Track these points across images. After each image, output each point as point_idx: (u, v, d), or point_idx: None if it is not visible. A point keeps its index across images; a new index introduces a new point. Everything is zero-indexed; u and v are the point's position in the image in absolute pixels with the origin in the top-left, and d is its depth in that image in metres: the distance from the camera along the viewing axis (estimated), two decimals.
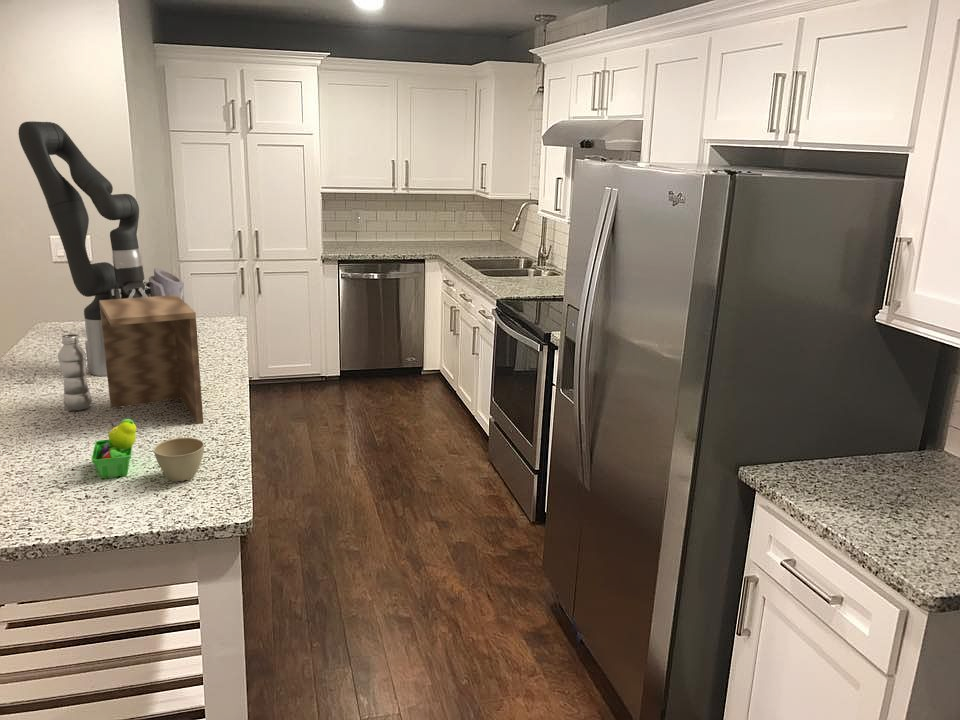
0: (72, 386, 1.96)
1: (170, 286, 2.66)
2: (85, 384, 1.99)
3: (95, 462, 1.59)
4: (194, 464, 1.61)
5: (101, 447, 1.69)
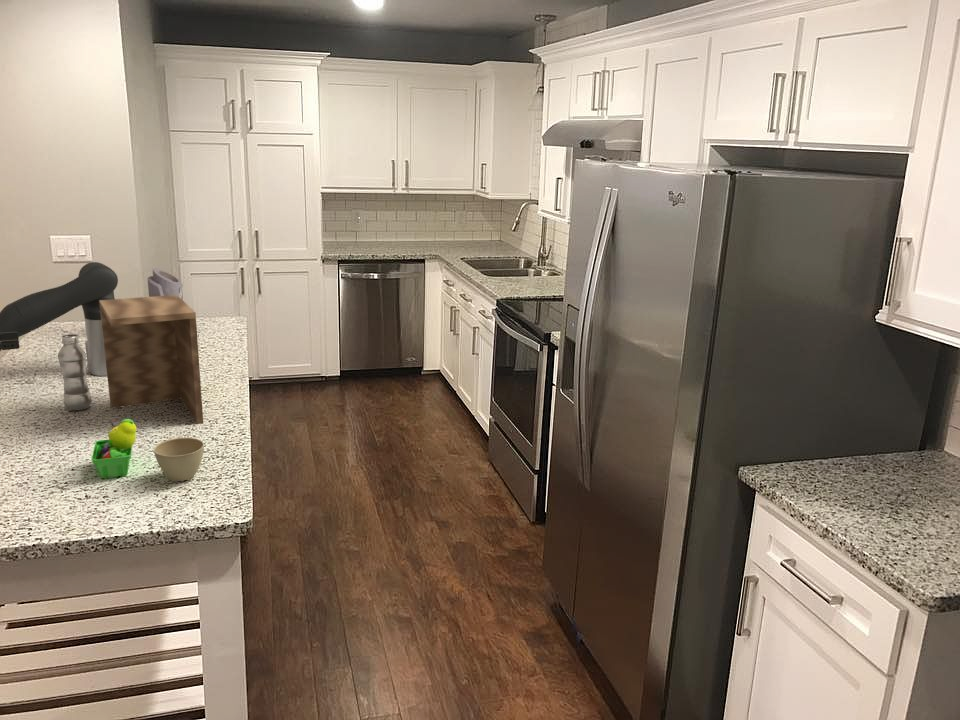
0: (72, 386, 1.96)
1: (169, 286, 2.66)
2: (85, 384, 1.99)
3: (95, 462, 1.59)
4: (194, 464, 1.61)
5: (101, 447, 1.69)
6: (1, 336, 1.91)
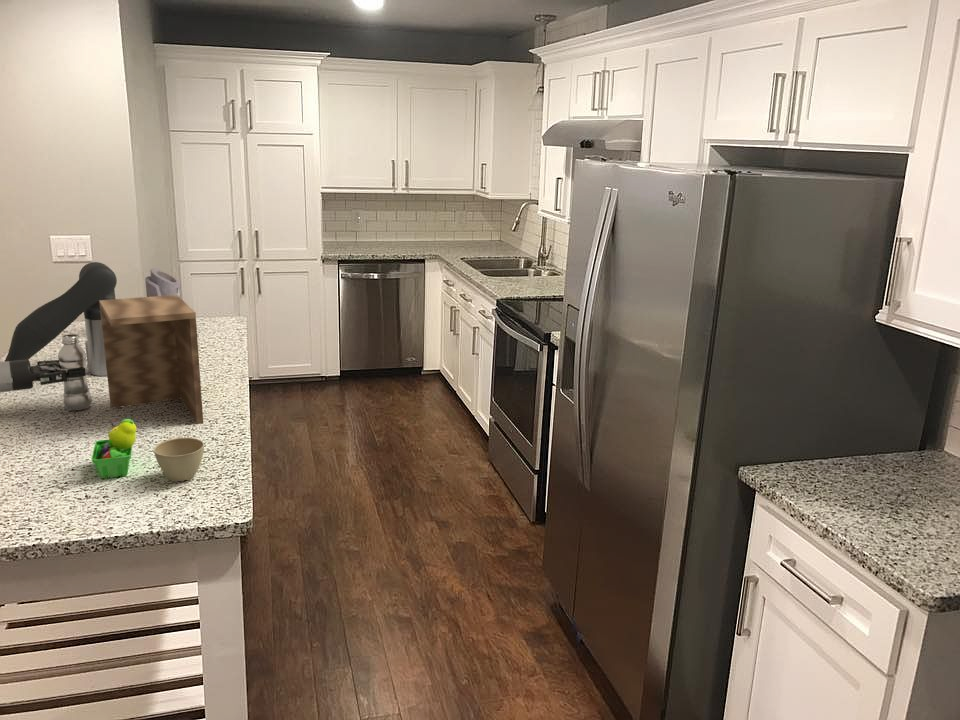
0: (72, 386, 1.96)
1: (166, 286, 2.65)
2: (85, 384, 1.98)
3: (95, 462, 1.59)
4: (194, 464, 1.61)
5: (101, 447, 1.69)
6: None
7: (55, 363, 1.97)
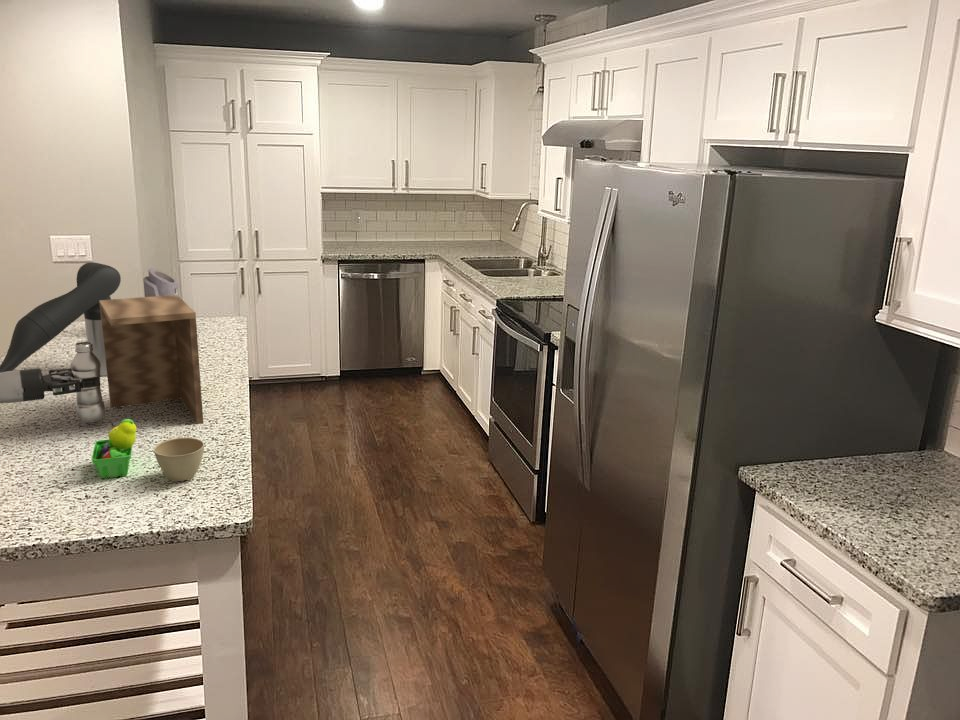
0: (85, 397, 1.86)
1: (164, 286, 2.65)
2: (99, 394, 1.88)
3: (95, 462, 1.59)
4: (194, 464, 1.61)
5: (101, 447, 1.69)
6: None
7: (68, 372, 1.86)
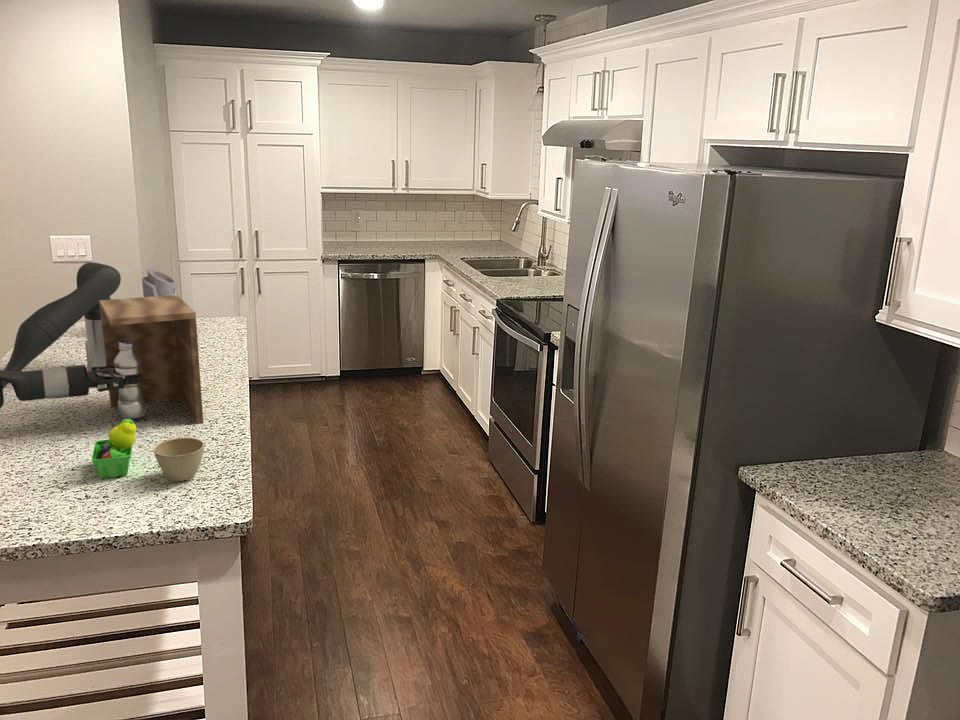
0: (128, 393, 1.90)
1: (163, 286, 2.65)
2: (140, 391, 1.92)
3: (95, 462, 1.59)
4: (194, 464, 1.61)
5: (101, 447, 1.69)
6: None
7: (110, 369, 1.91)
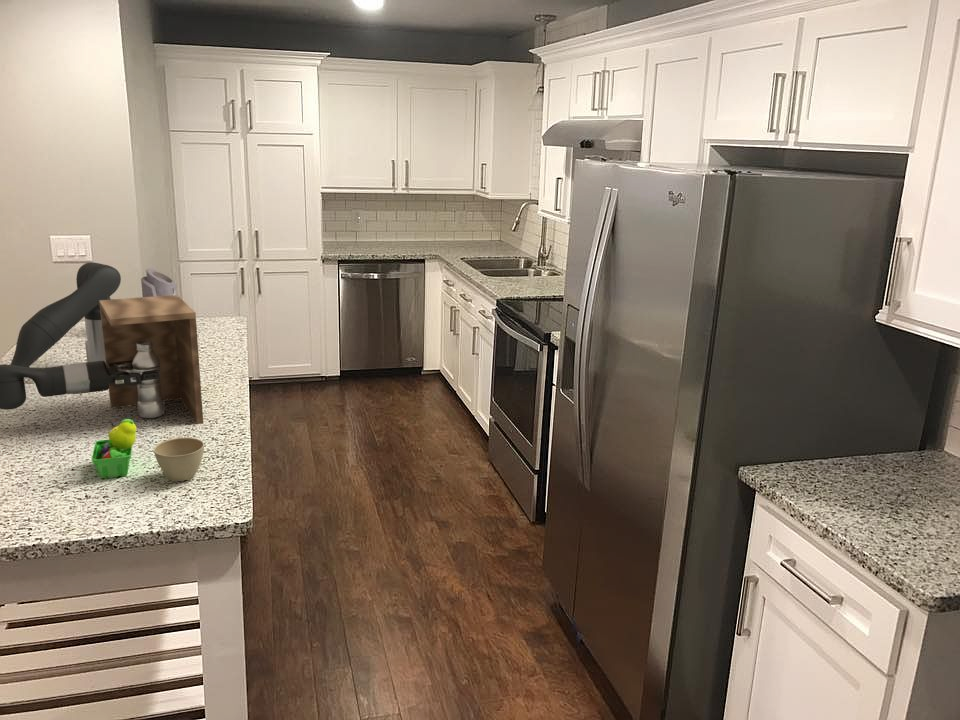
0: (147, 394, 1.93)
1: (162, 286, 2.65)
2: (159, 391, 1.95)
3: (95, 462, 1.59)
4: (194, 464, 1.61)
5: (101, 447, 1.69)
6: None
7: (128, 364, 1.94)
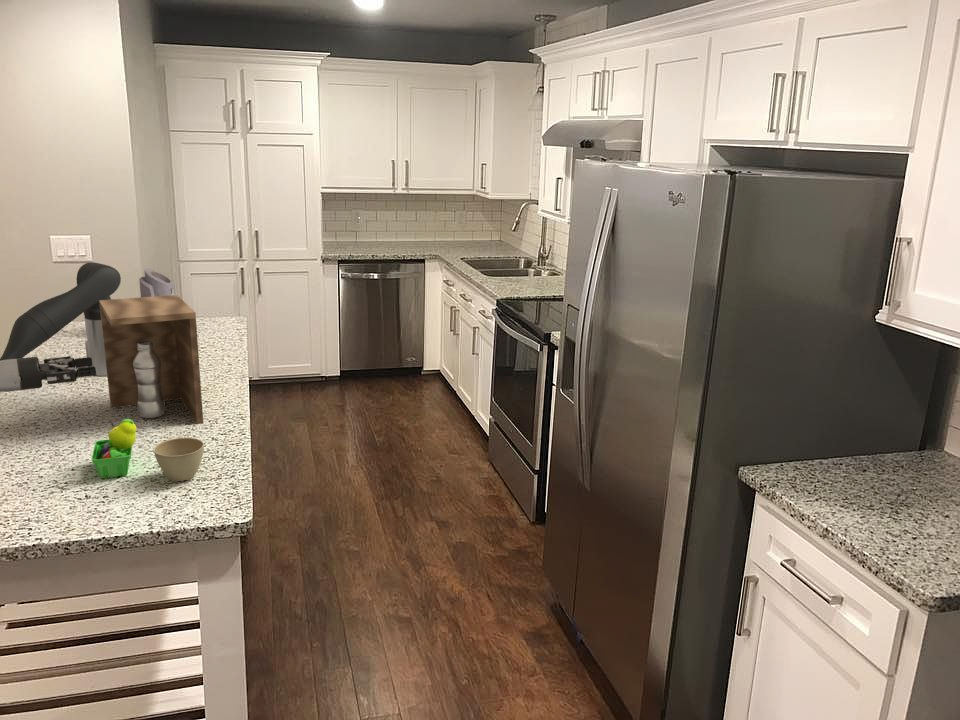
0: (147, 394, 1.93)
1: (160, 287, 2.64)
2: (159, 391, 1.95)
3: (95, 462, 1.59)
4: (194, 464, 1.61)
5: (101, 447, 1.69)
6: (75, 362, 1.88)
7: (64, 360, 1.85)
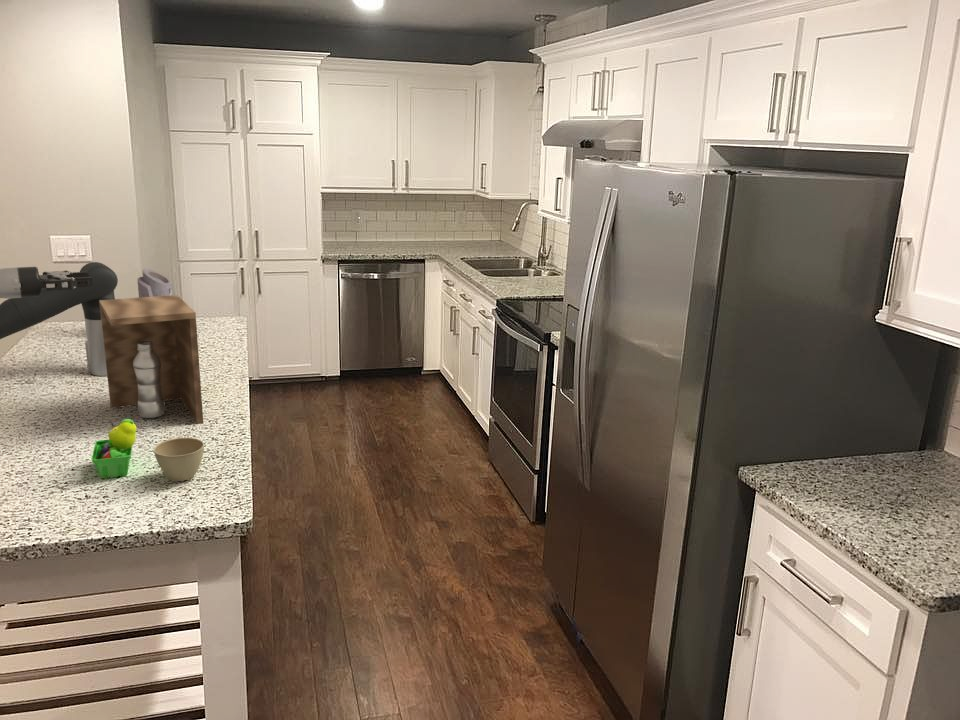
0: (147, 394, 1.93)
1: (158, 287, 2.64)
2: (159, 391, 1.95)
3: (95, 462, 1.59)
4: (194, 464, 1.61)
5: (101, 447, 1.69)
6: (73, 275, 1.98)
7: (62, 272, 1.95)
